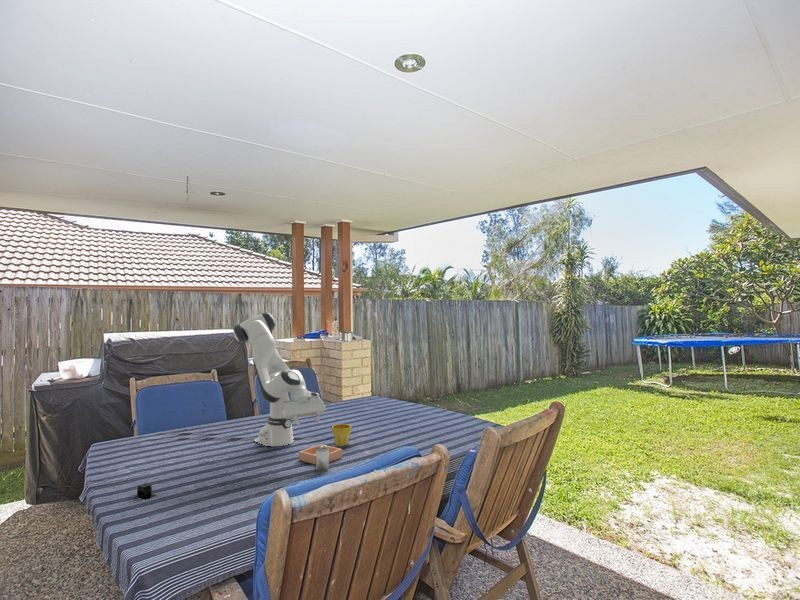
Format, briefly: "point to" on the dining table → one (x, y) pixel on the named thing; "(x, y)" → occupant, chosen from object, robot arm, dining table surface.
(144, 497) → the black block
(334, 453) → the terracotta bin
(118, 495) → the dining table surface
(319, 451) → the silver metal cylinder
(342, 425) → the plant pot
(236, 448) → the dining table surface
